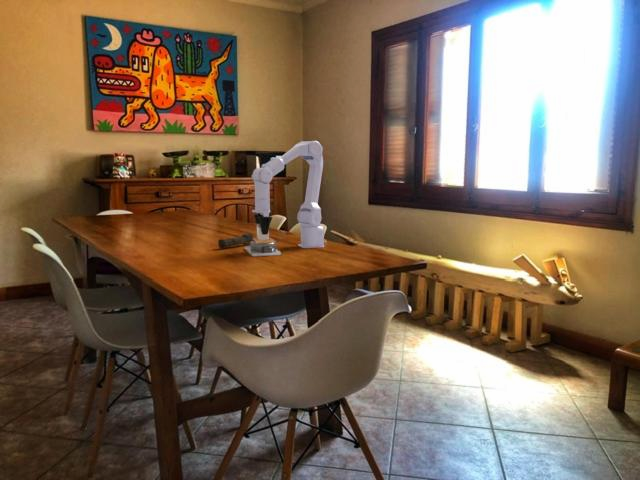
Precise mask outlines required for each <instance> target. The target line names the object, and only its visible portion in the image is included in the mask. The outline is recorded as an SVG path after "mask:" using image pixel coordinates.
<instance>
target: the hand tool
mask: <svg viewBox="0 0 640 480" xmlns="http://www.w3.org/2000/svg"><path fill="white" fill-rule="evenodd" d="M253 238H255V237H254V234H253V233H251V232H250V233H243V234H242V235H241V236H236V237H231V238H230V237H229V238H223V239H222V238H219V239H218V240H217V241H218V247H219V249H225V248H226V249H227V248H229V247H234V246H238V245H243V246H244V245H245V246H247V245H248V246H249V245H250V242H251V241H253V240H252V239H253Z"/></svg>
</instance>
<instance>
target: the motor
mask: <svg viewBox="0 0 640 480" xmlns="http://www.w3.org/2000/svg"><path fill="white" fill-rule="evenodd" d="M252 240H253V241H251V242H250V244H249V245H250V246H249V245H248V246H244V250H245V251H246V252H247V253H248V254H249V255H250V256H251V257H265V256H266V257H267V256H268V257H269V256H281V255H282V252H281V251H280V250H279V249H277V241H276V240H275V239H273V238H272V237H269V240H263V241H257V237H256V238H255V237H254V238H253V239H252Z"/></svg>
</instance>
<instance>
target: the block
mask: <svg viewBox="0 0 640 480" xmlns="http://www.w3.org/2000/svg"><path fill="white" fill-rule="evenodd" d="M256 238H257V241H263V240H269V238H270V229H269V230H268V234H267V235H262V232H261V226H260V224H257V223H256Z"/></svg>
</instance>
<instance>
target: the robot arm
mask: <svg viewBox="0 0 640 480" xmlns="http://www.w3.org/2000/svg"><path fill="white" fill-rule="evenodd" d="M323 150H324V147H323V146H322V145H321V143H320V142H319V141H317V140H312V141H300V142H298V143H296V144H295V145H294V146H293V147H292V148H290V149H289V150H288V151H286V152H285V153H284V154H282V155H281V156H280V157H278V156H276V157H274V156H273V157H271V158H270V160H269V161H267V162H266V163H263V164H262V165H261V167H258V168H255V169H254V170H253V172H252V174H251V175H250V176H251V179H252V181H253V182H254V184H253V185H254V206H255V207H254V209H252V210H251V212H252V213H256V214H253V217H254V220H255V223H256V225H257V224H260V226H261V232H262V235H267V234H268V230H269V231H270V225H271V222H272V220H273V217H272V216H270V213H271V204H270V203H271V199H270V193H271V192H270V191H271V190H270V182H271V181H272V180H273V177H275V176H276V175H277V174H279V173H281V172H282V171H284V169H285V165H287V164H288V163H289V162H291V161H293V160H294V159H296V158H297V157H300V158H302V159H303V160H304V161H306V162H307V163H308V165H309V169H308V176H307V183H306V190H305V198H304V202H303V203H302V204H301V205H300V206H299V207H300V209H299V211H298V213H297V221H298V223H299V226H300V244H297V245H298V247H300V248H302V249H311V248H313V249H314V248H325V230H324V226H323V225H320V223H321V222H322V208H321V207H320V206H319V204H318V203H319V196H320V189H321V182H322V175H323V168H324V157H323Z"/></svg>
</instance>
